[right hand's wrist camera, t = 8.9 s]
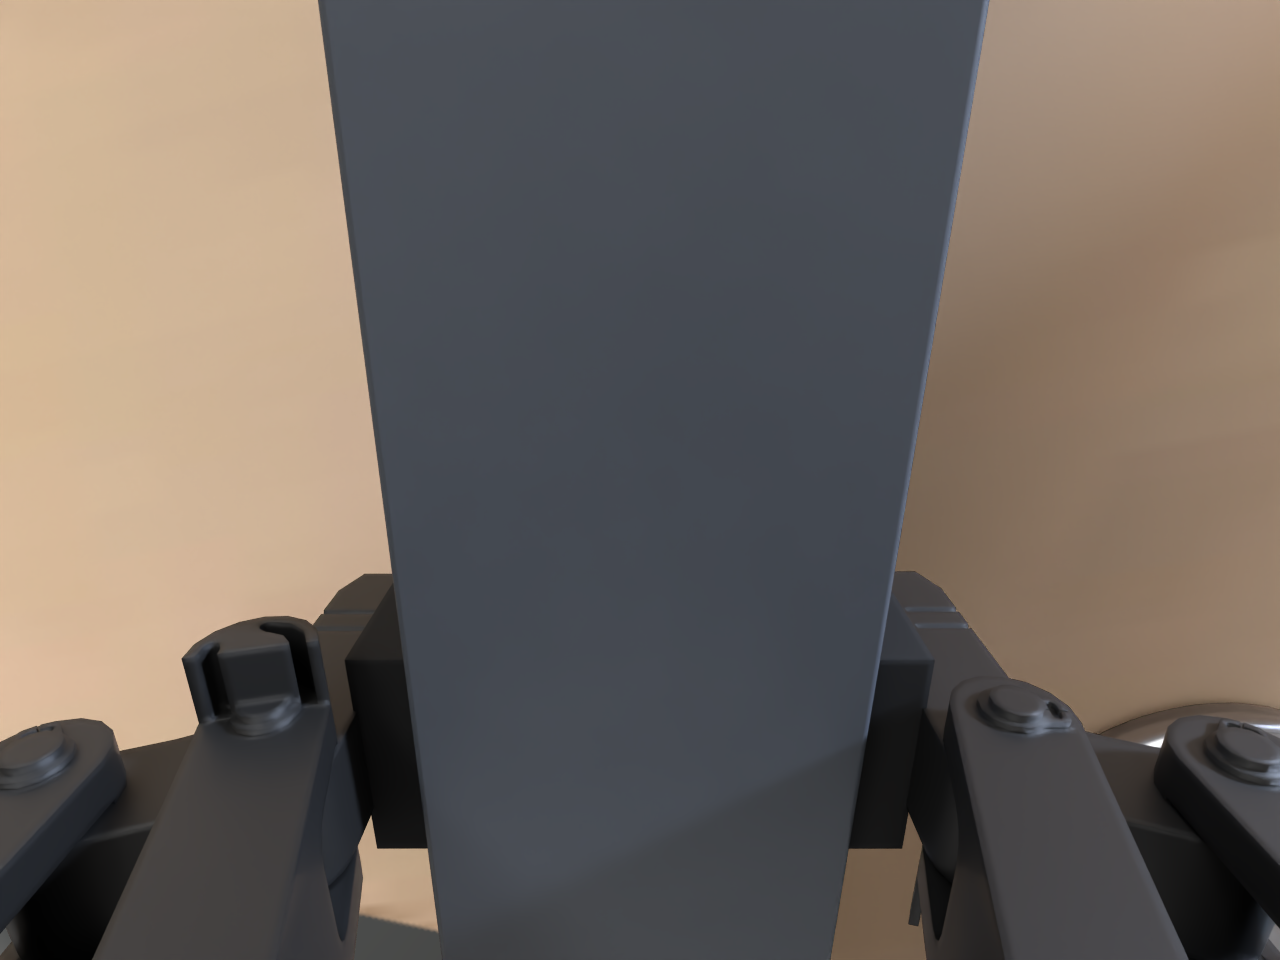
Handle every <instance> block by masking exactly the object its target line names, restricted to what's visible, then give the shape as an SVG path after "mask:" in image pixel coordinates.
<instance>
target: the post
mask: <svg viewBox="0 0 1280 960" xmlns="http://www.w3.org/2000/svg"><path fill="white" fill-rule="evenodd" d="M318 4H319V12H320V20H321V27H322V35H323V43H324V51H325V58H326V66H327V74H328V81H329V89H330V97H331V105H332V112H333V120H334V128H335V135H336V143H337V151H338V159H339V166H340V174H341V182H342V190H343V197H344V205H345V213H346V220H347V228H348V236H349V244H350V251H351V259H352V267H353V274H354V282H355V290H356V298H357V305H358V313H359V321H360V329H361V336H362V344H363V352H364V359H365V367H366V375H367V383H368V390H369V398H370V406H371V413H372V421H373V429H374V437H375V444H376V452H377V460H378V468H379V475H380V483H381V491H382V498H383V506H384V514H385V522H386V529H387V537H388V545H389V552H390V560H391V568H392V576H393V583H394V591H395V599H396V606H397V614H398V622H399V630H400V637H401V645H402V653H403V661H404V668H405V676H406V684H407V691H408V699H409V707H410V715H411V722H412V730H413V738H414V745H415V753H416V761H417V769H418V776H419V784H420V792H421V800H422V807H423V815H424V823H425V830H426V838H427V846H428V854H429V861H430V869H431V877H432V884H433V892H434V900H435V908H436V915H437V923H438V931H439V938H440V946H441V954H442V960H830V958H831V952H832V946H833V940H834V934H835V928H836V922H837V916H838V910H839V904H840V898H841V892H842V886H843V880H844V874H845V867H846V861H847V855H848V849H849V843H850V837H851V831H852V825H853V819H854V813H855V807H856V801H857V795H858V789H859V783H860V777H861V771H862V765H863V759H864V753H865V747H866V741H867V735H868V729H869V723H870V717H871V711H872V705H873V699H874V693H875V687H876V681H877V675H878V669H879V663H880V656H881V650H882V644H883V638H884V632H885V626H886V620H887V614H888V608H889V602H890V596H891V590H892V584H893V578H894V572H895V566H896V560H897V554H898V548H899V542H900V536H901V530H902V524H903V518H904V512H905V506H906V500H907V494H908V488H909V482H910V476H911V470H912V464H913V458H914V452H915V445H916V439H917V433H918V427H919V421H920V415H921V409H922V403H923V397H924V391H925V385H926V379H927V373H928V367H929V361H930V355H931V349H932V343H933V337H934V331H935V325H936V319H937V313H938V307H939V301H940V295H941V289H942V283H943V277H944V271H945V265H946V259H947V253H948V247H949V241H950V234H951V228H952V222H953V216H954V210H955V204H956V198H957V192H958V186H959V180H960V174H961V168H962V162H963V156H964V150H965V144H966V138H967V132H968V126H969V120H970V114H971V108H972V102H973V96H974V90H975V84H976V78H977V72H978V66H979V60H980V54H981V48H982V42H983V36H984V29H985V23H986V17H987V11H988V5H989V0H318Z"/></svg>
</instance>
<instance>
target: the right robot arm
mask: <svg viewBox="0 0 1280 960" xmlns="http://www.w3.org/2000/svg"><path fill="white" fill-rule="evenodd" d="M182 662H183V666H184V669H185V673H186V677H187V681H188V684H189V688H190V692H191V695H192V699H193V703H194V706H195V710H196V714H197V718H198V721H199V725H198V727H197V729H196V731H195V734H194V735H190V736H187V737H183V738H179V739H175V740H171V741H166V742H161V743H156V744H151V745H147V746H142V747H137V748H132V749H127V750H123V751H119V748H118V745H117V742H116V739H115V736H114V733H113V730H112V729H111V728H109V727H108V726H107V725H106V724H104V723H103V722H102V721H96V720H90V719H83V718H79V719H71V720H63V721H54V722H50V723H46V724H42V725H40V726H38V727H37V726H35V727H32V728H29V729H26V730H23V731H21V732H19V733H18V734H16V735H14V736H12V737H10V738H8V739H6V740H4V741H1V742H0V933H1V932H2V931H3V930H4V929H5V928H6V929H7V931H8V934H9V936H10V938H11V940H12V942H11V943H10V945H9V946H8V947H7V948H6V949H5V951H4V952H3V953H2V954H1V955H0V960H354V953H355V943H356V935H357V926H358V917H359V908H360V899H361V891H362V882H363V875H362V868H361V861H360V856H359V850H358V844H359V842H360V840H361V837H362V835H363V833H364V830H365V828H366V826H367V823H368V821H369V819H370V816H372V821H373V827H374V833H375V838H376V844H377V849H385V848H428V846H427V838H426V830H425V823H424V815H423V807H422V800H421V792H420V784H419V776H418V769H417V761H416V753H415V745H414V738H413V730H412V722H411V715H410V707H409V699H408V691H407V684H406V676H405V668H404V661H403V653H402V645H401V637H400V630H399V622H398V614H397V606H396V599H395V591H394V583H393V576H392V574H364V575H362V576H361V577H359V578H358V579H356V580H354V581H353V582H351V583H350V584H348V585H347V586H345V587H344V588H342V589H341V590H339V591H338V592H337V594H336V595H335V596H334V598H333V599H332V600H331V602H330V603H329V604H328V606H327V607H326V608H325V610H324V614H321V615H320V616H319V618H318V619H317V620H316V622H315V623H314V624H313V625H312V624H310V623H309V622H308V621H307V620H303V619H298V618H294V617H290V616H274V617H261V618H256V619H252V620H247V621H242V622H238V623H236V624H233V625H230V626H228V627H225V628H223V629H220V630H218V631H215V632H213V633H212V634H210V635H208V636H207V637H205V638H204V639H202V640H200V641H199V642H197V643H196V644H194V645H193V646H192V647H191V649H190V650H189V651H188V652H187V653H186V654H185V655H184V656H183V658H182ZM908 812H909V814H910V816H911V819H912V821H913V823H914V826H915V828H916V830H917V833H918V835H919V837H920V840H921V842H922V844H923V845H922V850H921V856H920V861H919V866H918V872H917V877H916V882H915V888H914V893H913V898H912V904H911V909H910V916H909V923H908V924H910V925H914V926H918V925H919V920H920V915H922V924H923V933H924V942H925V951H926V960H1280V710H1279V709H1275V708H1271V707H1267V706H1260V705H1253V704H1242V703H1210V704H1199V705H1190V706H1185V707H1179V708H1173V709H1169V710H1165V711H1161V712H1156V713H1152V714H1149V715H1146V716H1143V717H1140V718H1137V719H1134V720H1131V721H1128V722H1126V723H1123V724H1121V725H1118V726H1116V727H1114V728H1111V729H1109V730H1107V731H1105V732H1103V733H1101V734H1099V735H1097V734H1094V733H1090V732H1086V731H1085V730H1084V728H1083V726H1082V723H1081V722H1080V720H1079V719H1078V718H1077V716H1076V715H1075V714H1074V712H1073V711H1072V710H1071V708H1070V707H1069V706H1067V705H1066V704H1065V703H1063V702H1062V701H1060V700H1059V699H1058V698H1056V697H1055V696H1054V695H1052V694H1051V693H1049V692H1047V691H1045V690H1042V689H1040V688H1038V687H1036V686H1033V685H1031V684H1029V683H1027V682H1023V681H1018V680H1014V679H1010V678H1008V676H1007V675H1006V674H1005V672H1004V671H1003V670H1002V668H1001V667H1000V666H999V664H998V663H997V662H996V660H995V659H994V658H993V656H992V655H991V654H990V652H989V651H988V650H987V648H986V647H985V646H984V644H983V643H982V642H981V641H980V639H979V638H978V637H977V635H976V634H975V633H974V631H973V630H972V629H971V628H968V623H967V622H966V621H965V619H964V618H963V617H962V615H961V614H960V613H959V612H956V607H955V606H954V605H953V603H952V602H951V601H950V599H949V598H948V597H947V596H946V594H945V593H944V592H943V590H942V589H941V588H940V587H938V586H937V585H935V584H934V583H932V582H931V581H929V580H927V579H926V578H924V577H923V576H921V575H920V574H918V573H917V572H915V571H895V572H894V578H893V584H892V590H891V596H890V602H889V608H888V614H887V620H886V626H885V632H884V638H883V644H882V650H881V656H880V663H879V669H878V675H877V681H876V687H875V693H874V699H873V705H872V711H871V717H870V723H869V729H868V735H867V741H866V747H865V753H864V759H863V765H862V771H861V777H860V783H859V789H858V795H857V801H856V807H855V813H854V819H853V825H852V831H851V837H850V843H849V849H902V847H903V841H904V835H905V829H906V824H907V818H908Z"/></svg>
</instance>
